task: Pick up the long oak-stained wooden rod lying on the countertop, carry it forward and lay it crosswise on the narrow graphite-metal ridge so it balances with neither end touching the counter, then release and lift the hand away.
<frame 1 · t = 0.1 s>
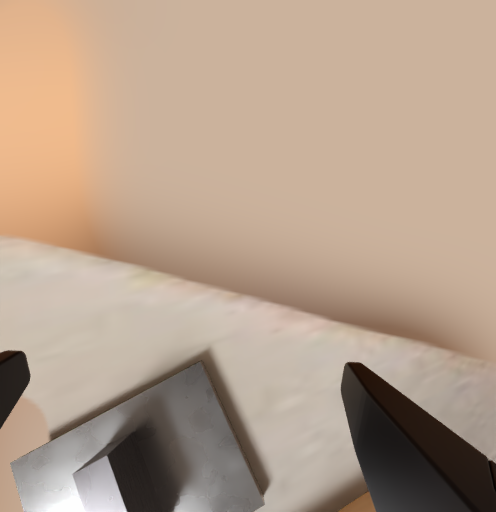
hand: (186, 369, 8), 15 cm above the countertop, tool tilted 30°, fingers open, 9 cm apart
ridge stand: (141, 476, 20), on the countertop
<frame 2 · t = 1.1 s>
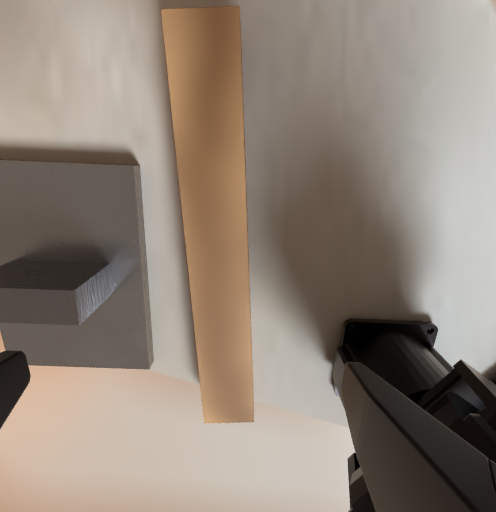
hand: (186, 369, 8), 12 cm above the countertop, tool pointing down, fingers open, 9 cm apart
oak rod: (222, 246, 20), on the countertop
ridge stand: (73, 270, 20), on the countertop
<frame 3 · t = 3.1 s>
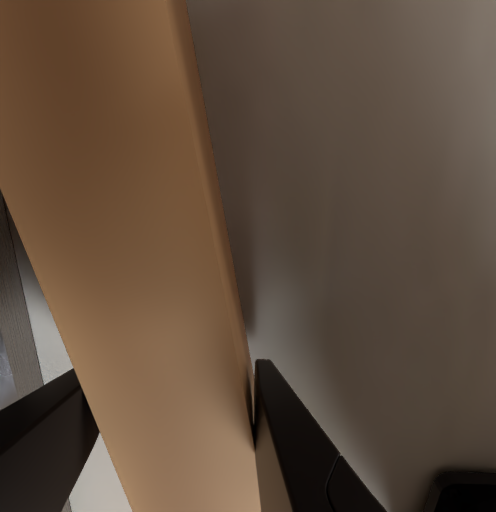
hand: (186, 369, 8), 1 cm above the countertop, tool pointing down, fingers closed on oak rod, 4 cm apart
oak rod: (194, 341, 10), on the countertop, touching gripper
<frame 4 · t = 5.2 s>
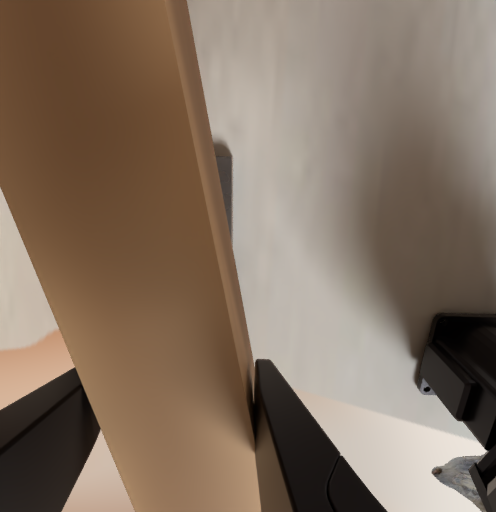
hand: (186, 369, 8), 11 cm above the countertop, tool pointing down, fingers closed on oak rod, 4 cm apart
oak rod: (195, 340, 10), point 10 cm above the countertop, touching gripper
ridge stand: (156, 267, 19), on the countertop
when the fingers open (7 cm above the countertop, at t = 7.2 s): oak rod stays where it is, resting on ridge stand.
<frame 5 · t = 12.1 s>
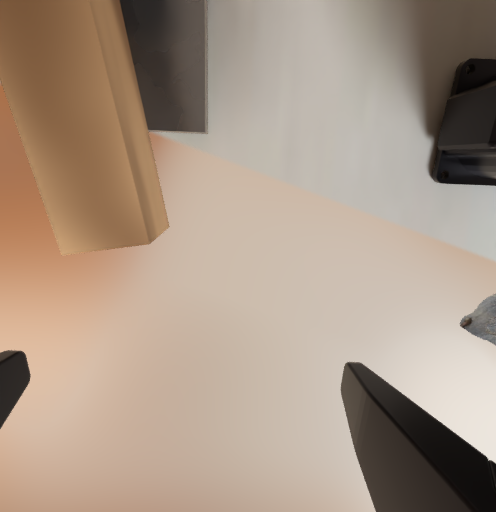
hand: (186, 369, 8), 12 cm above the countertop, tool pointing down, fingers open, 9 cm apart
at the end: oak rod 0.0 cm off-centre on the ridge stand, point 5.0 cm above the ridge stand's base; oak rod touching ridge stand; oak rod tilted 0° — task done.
